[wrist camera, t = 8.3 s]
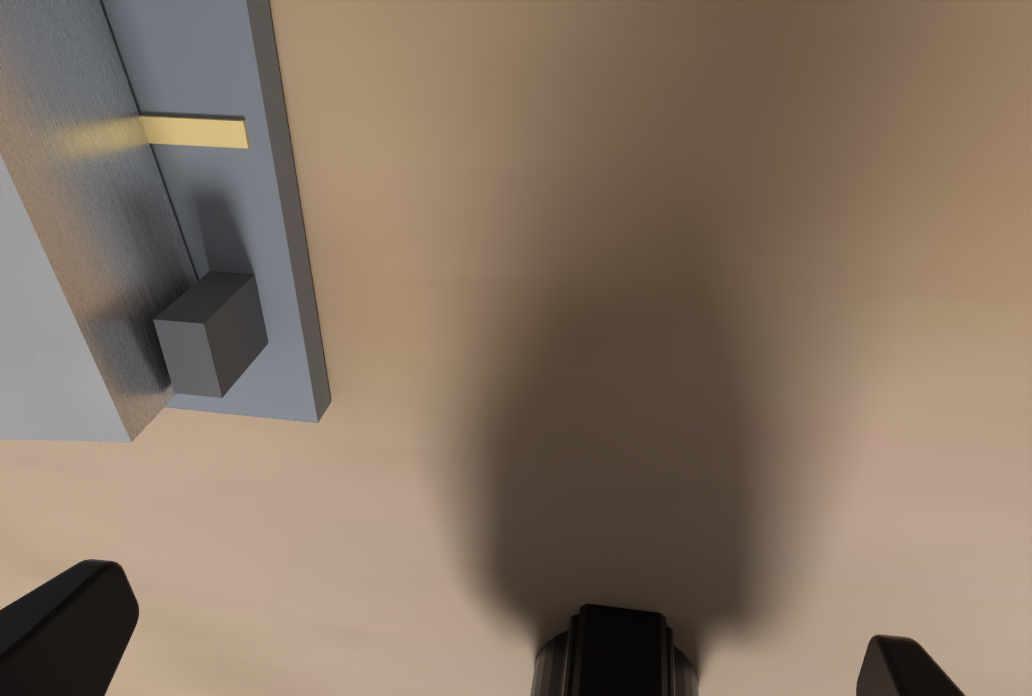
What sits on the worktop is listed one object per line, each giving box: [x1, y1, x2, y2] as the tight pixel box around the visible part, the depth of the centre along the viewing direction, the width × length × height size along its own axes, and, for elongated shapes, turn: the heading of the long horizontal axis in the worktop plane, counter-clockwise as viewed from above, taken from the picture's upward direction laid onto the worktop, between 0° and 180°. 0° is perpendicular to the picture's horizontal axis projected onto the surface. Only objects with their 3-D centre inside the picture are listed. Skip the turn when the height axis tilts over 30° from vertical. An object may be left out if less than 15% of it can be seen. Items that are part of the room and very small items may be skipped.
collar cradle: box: [99, 0, 331, 423], centre depth 16 cm, size 16×10×4 cm, turn 0°
